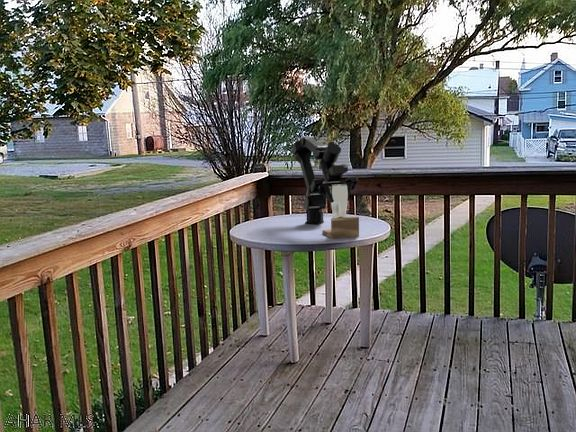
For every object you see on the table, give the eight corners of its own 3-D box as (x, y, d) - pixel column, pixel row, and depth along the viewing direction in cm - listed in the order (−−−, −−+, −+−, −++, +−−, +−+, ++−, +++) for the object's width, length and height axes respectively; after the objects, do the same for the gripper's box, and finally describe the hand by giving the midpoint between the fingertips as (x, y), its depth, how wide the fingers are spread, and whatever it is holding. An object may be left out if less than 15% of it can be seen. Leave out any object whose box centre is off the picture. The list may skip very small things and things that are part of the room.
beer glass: (327, 222, 221) (326, 185, 219) (341, 220, 225) (340, 183, 222) (337, 225, 215) (336, 186, 213) (351, 223, 219) (351, 185, 217)
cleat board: (322, 233, 223) (322, 214, 222) (347, 231, 227) (347, 212, 225) (332, 238, 213) (332, 219, 212) (358, 236, 217) (358, 217, 216)
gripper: (312, 158, 216) (323, 190, 208) (356, 156, 222) (368, 187, 214) (305, 176, 225) (316, 207, 217) (348, 174, 231) (359, 204, 223)
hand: (340, 201), depth 217 cm, fingers closed on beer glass, 7 cm apart
